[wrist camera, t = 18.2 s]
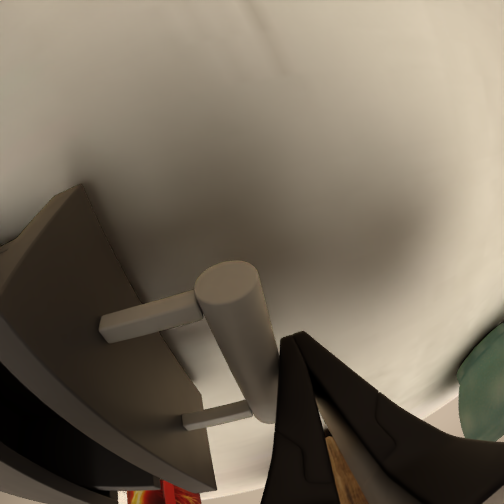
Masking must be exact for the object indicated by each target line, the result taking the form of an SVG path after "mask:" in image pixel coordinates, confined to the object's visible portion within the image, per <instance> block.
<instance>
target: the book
mask: <svg viewBox="0 0 504 504" xmlns="http://www.w3.org/2000/svg"><path fill="white" fill-rule="evenodd" d="M325 440H326V444H327V448H328V452H329V457H330V461H331V465H332V470H333V474H334V478H335V484H336V487H337V491H338V495H339V499H340V503H341V504H369V503H368V501H367V499H366V497H365V496H364V494H363V492H362V490H361V487H360V486H359V485H358V483H357V481H356V479H355V477H354V475H353V474H352V472H351V470H350V468H349V466H348V464H347V462H346V461H345V459H344V457H343V455H342V453H341V451H340V449H339V447H338V446H337V444H336V442H335V440H334V438H333V436H332V437H327V438H325ZM268 473H269V472H268Z"/></svg>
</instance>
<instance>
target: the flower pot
mask: <svg viewBox="0 0 504 504" xmlns="http://www.w3.org/2000/svg"><path fill="white" fill-rule="evenodd" d="M456 377H457V379H458V381H459V384H460V387H459V417H460V423H461V427H462V430H463V434H464V436H465V438H468V439H476V440H485V441H495V442H496V441H497V440H498V439H499V438H501V437H502V436H503V435H504V322H503V323H501V324H500V325H498V326H497V327H496V328H495V329H494V330H492V331H491V332H490V333H489V334H488V335H487V336H486V337H485V338H484V339H483V340H482V341H481V342H480V343H479V344H478V345H477V346H475V347H474V349H473V351H472V352H471V353H470V354H469V355H468V357H467V358H466V359H465V360H464V362H463V363H462V365H461V366H460V368H459V369H458V371H457V374H456Z"/></svg>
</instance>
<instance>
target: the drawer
mask: <svg viewBox="0 0 504 504" xmlns="http://www.w3.org/2000/svg"><path fill="white" fill-rule="evenodd" d="M203 314H204V316H205V318H206V320H207V322H208V325H209V327H210V329H211V331H212V333H213V335H214V337H215V339H216V342H217V344H218V346H219V348H220V350H221V352H222V354H223V356H224V358H225V360H226V362H227V364H228V366H229V368H230V370H231V372H232V374H233V376H234V378H235V380H236V382H237V384H238V386H239V388H240V390H241V392H242V393H243V395H244V397H245V399H246V400H242V401H238V402H235V403H231V404H227V405H223V406H218V407H214V408H210V409H205V410H203V403H202V395H201V393H200V392H199V391H198V389H197V388H196V387H195V385H194V384H193V382H192V381H191V380H190V378H189V377H188V375H187V374H186V373H185V371H184V370H183V368H182V367H181V365H180V364H179V362H178V361H177V359H176V358H175V356H174V355H173V353H172V352H171V350H170V349H169V347H168V346H167V344H166V343H165V341H164V340H163V338H162V336H161V335H160V333H159V331H163V330H166V329H170V328H174V327H178V326H181V325H185V324H189V323H192V322H196V321H200V320H202V319H203ZM278 373H279V353H278V349H277V345H276V341H275V337H274V333H273V329H272V325H271V321H270V318H269V314H268V310H267V306H266V302H265V298H264V294H263V290H262V286H261V282H260V278H259V274H258V271H257V269H256V268H255V267H254V266H253V265H252V264H250V263H248V262H245V261H240V260H231V261H225V262H221V263H218V264H216V265H213V266H211V267H210V268H208V269H206V270H205V271H204V272H203V273H202V274H201V275H200V276H199V277H198V278H197V280H196V282H195V285H194V290H190V291H187V292H184V293H180V294H177V295H173V296H170V297H166V298H163V299H159V300H156V301H152V302H149V303H145V304H141V302H140V300H139V298H138V297H137V295H136V293H135V291H134V290H133V288H132V286H131V284H130V283H129V281H128V279H127V277H126V275H125V273H124V272H123V270H122V268H121V266H120V264H119V262H118V260H117V258H116V256H115V254H114V252H113V250H112V248H111V246H110V244H109V242H108V240H107V238H106V236H105V234H104V232H103V230H102V228H101V226H100V224H99V222H98V220H97V217H96V215H95V213H94V211H93V209H92V206H91V204H90V202H89V199H88V197H87V195H86V193H85V190H84V188H83V185H82V184H79V185H77V186H74V187H72V188H70V189H68V190H66V191H64V192H61V193H59V194H57V195H55V196H54V197H53V198H52V199H51V200H50V201H49V202H48V203H47V204H46V205H45V206H44V207H43V208H42V210H41V211H40V212H39V213H38V214H37V215H36V216H35V217H34V218H33V220H32V221H31V222H30V223H29V224H28V225H27V226H26V228H25V229H24V230H23V231H22V232H21V234H20V235H19V236H18V237H17V238H16V239H14V240H12V241H11V242H9V243H7V244H5V245H3V246H1V247H0V441H1V442H2V443H4V444H5V445H7V446H8V447H10V448H11V449H13V450H14V451H16V452H17V453H19V454H21V455H22V456H24V457H25V458H27V459H29V460H31V461H32V462H34V463H36V464H37V465H39V466H41V467H43V468H45V469H47V470H48V471H50V472H52V473H54V474H56V475H58V476H60V477H62V478H64V479H66V480H68V481H70V482H73V483H75V484H77V485H79V486H81V487H84V488H86V489H89V490H108V491H144V490H160V489H161V485H160V478H161V479H163V480H165V481H167V482H169V483H171V484H173V485H176V486H178V487H180V488H182V489H185V490H187V491H189V492H192V493H202V492H209V491H216V490H217V486H216V481H215V476H214V470H213V465H212V459H211V454H210V448H209V442H208V436H207V430H206V427H210V426H215V425H220V424H224V423H228V422H233V421H237V420H241V419H245V418H248V417H252V416H253V414H254V416H255V417H256V418H257V419H258V420H259V421H261V422H263V423H267V424H273V423H275V419H276V405H277V389H278ZM252 412H253V413H252Z"/></svg>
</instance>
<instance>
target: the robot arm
mask: <svg viewBox="0 0 504 504" xmlns="http://www.w3.org/2000/svg"><path fill="white" fill-rule="evenodd" d="M318 410H319V411H318ZM319 412H320V414H321V416H322V417H323V419H324V421H325V423H326V425H327V427H328V429H329V431H330V432H331V434H332V436H333V438H334V440H335V442H336V444H337V446H338V447H339V449H340V451H341V453H342V455H343V457H344V459H345V461H346V462H347V464H348V466H349V468H350V470H351V472H352V474H353V475H354V477H355V479H356V481H357V483H358V485H359V486H360V487H361V490H362V492H363V494H364V496H365V497H366V499H367V501H368V503H369V504H504V442H495V441H485V440H476V439H468V438H460V437H456V436H453V435H449V434H447V433H445V432H443V431H441V430H439V429H437V428H435V427H434V426H432V425H430V424H428V423H426V422H425V421H423V420H421V419H419V418H417V417H416V416H414V415H412V414H411V413H409V412H407V411H406V410H404V409H402V408H401V407H399V406H398V405H397V404H395V403H394V402H392V401H391V400H390V399H388V398H387V397H386V396H384V395H383V394H382V393H381V392H379V393H378V390H377V389H375V388H374V387H373V386H372V385H370V384H369V383H368V382H367V381H365V380H364V379H363V378H362V377H360V376H359V375H358V374H357V373H355V372H354V371H353V370H352V369H350V368H349V367H348V366H347V365H345V364H344V363H343V362H342V361H340V360H339V359H338V358H337V357H335V356H334V355H333V354H332V353H331V352H329V351H328V350H327V349H326V348H324V347H323V346H322V345H321V344H319V343H318V342H317V341H316V340H315V339H313V338H312V337H311V336H310V335H309V334H307V333H306V332H305V331H300V332H298V333H295V334H293V335H289V336H286V337H283V338H281V339H280V355H279V373H278V389H277V405H276V419H275V432H274V443H273V451H272V459H271V464H270V468H269V473H268V477H267V481H266V485H265V489H264V492H263V496H262V500H261V503H260V504H341V503H340V499H339V495H338V491H337V487H336V484H335V478H334V474H333V470H332V465H331V461H330V457H329V452H328V448H327V444H326V440H325V435H324V431H323V427H322V423H321V419H320V415H319Z"/></svg>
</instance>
